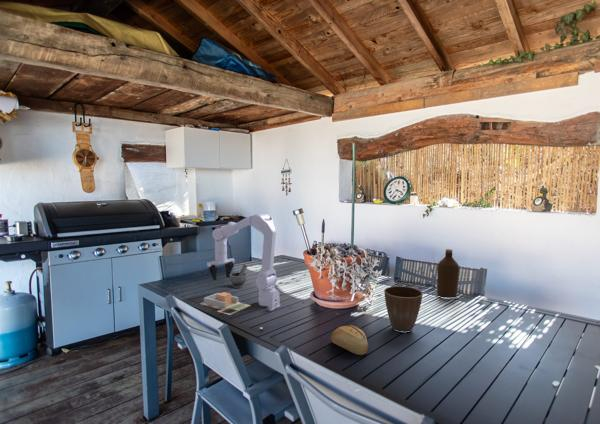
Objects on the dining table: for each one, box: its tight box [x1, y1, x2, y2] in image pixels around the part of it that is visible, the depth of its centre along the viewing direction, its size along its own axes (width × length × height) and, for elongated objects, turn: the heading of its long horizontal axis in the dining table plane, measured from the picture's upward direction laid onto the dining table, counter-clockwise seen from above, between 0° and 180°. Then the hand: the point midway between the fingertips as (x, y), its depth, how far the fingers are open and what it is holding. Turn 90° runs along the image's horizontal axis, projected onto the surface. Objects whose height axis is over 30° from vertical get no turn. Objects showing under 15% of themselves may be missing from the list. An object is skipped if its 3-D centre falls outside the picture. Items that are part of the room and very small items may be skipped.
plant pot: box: [383, 285, 424, 332], centre depth 150 cm, size 15×15×16 cm
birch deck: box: [199, 299, 252, 316], centre depth 173 cm, size 22×14×2 cm
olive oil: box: [436, 248, 460, 298], centre depth 193 cm, size 11×11×25 cm
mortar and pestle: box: [228, 263, 249, 289], centre depth 207 cm, size 11×9×12 cm
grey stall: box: [203, 292, 239, 308], centre depth 176 cm, size 13×10×2 cm
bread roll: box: [330, 324, 369, 356], centre depth 134 cm, size 10×15×8 cm, turn 46°
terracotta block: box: [217, 291, 232, 305], centre depth 175 cm, size 4×4×4 cm
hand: (221, 278), depth 187 cm, fingers open, 7 cm apart
